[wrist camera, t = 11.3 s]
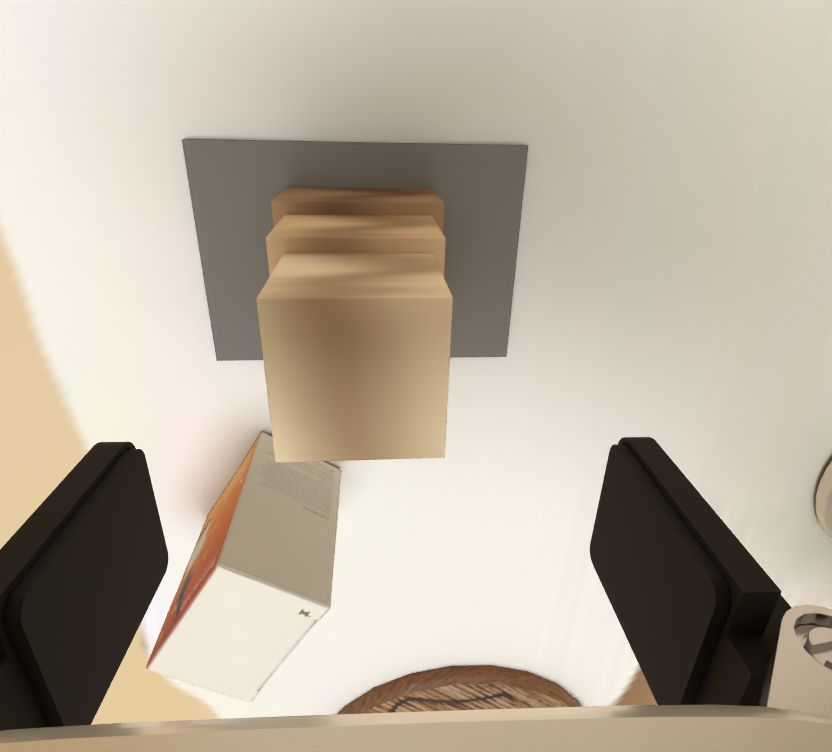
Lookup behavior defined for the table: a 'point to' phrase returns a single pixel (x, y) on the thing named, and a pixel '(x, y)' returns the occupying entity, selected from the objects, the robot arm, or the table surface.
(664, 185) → the table surface
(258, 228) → the slate mat
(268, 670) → the small box
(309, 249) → the oak block
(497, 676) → the trivet
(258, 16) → the table surface
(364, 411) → the maple cube
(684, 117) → the table surface
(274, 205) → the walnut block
